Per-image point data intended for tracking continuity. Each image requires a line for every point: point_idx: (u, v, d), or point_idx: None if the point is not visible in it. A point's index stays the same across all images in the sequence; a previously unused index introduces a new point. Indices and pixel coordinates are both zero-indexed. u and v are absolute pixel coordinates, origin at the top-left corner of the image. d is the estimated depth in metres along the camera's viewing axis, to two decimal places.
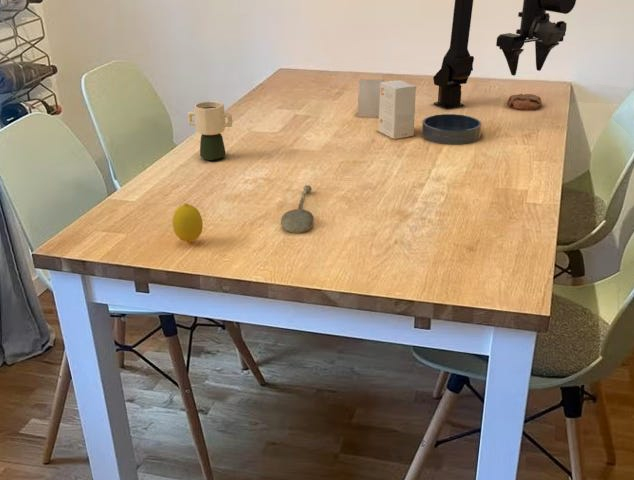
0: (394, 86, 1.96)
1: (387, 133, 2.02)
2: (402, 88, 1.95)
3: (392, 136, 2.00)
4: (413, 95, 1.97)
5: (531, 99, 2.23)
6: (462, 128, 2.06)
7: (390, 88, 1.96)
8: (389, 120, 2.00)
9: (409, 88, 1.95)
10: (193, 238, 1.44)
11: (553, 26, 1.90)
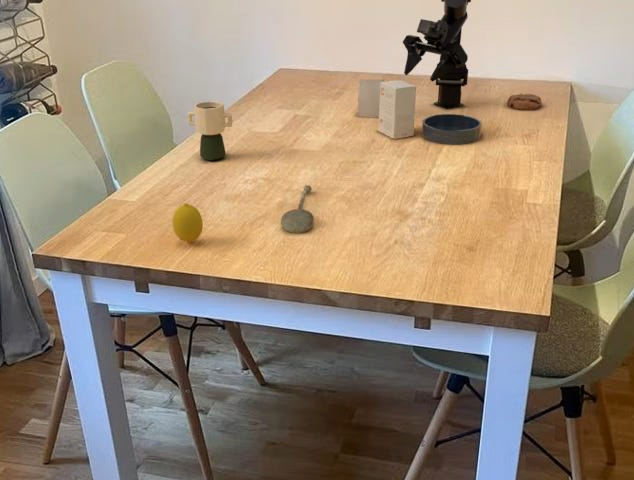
0: (394, 86, 1.96)
1: (387, 133, 2.02)
2: (402, 88, 1.95)
3: (392, 136, 2.00)
4: (413, 95, 1.97)
5: (531, 99, 2.23)
6: (462, 128, 2.06)
7: (390, 88, 1.96)
8: (389, 120, 2.00)
9: (409, 88, 1.95)
10: (193, 238, 1.44)
11: None
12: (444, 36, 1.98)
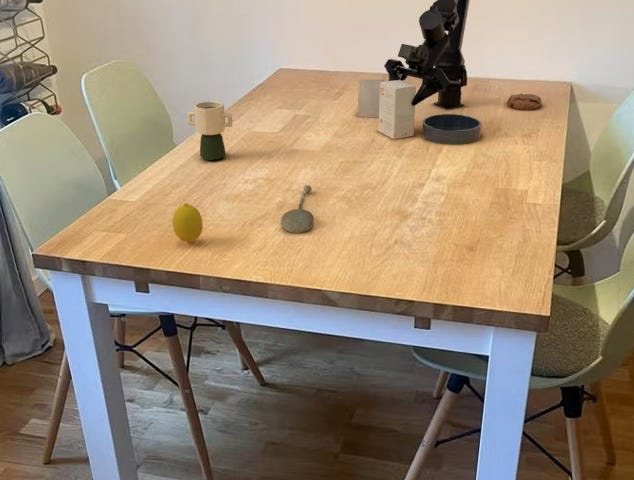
0: (394, 86, 1.96)
1: (387, 133, 2.02)
2: (402, 88, 1.95)
3: (392, 136, 2.00)
4: (413, 95, 1.97)
5: (531, 99, 2.23)
6: (462, 128, 2.06)
7: (390, 88, 1.96)
8: (389, 120, 2.00)
9: (408, 88, 1.95)
10: (193, 238, 1.44)
11: None
12: (425, 61, 1.97)
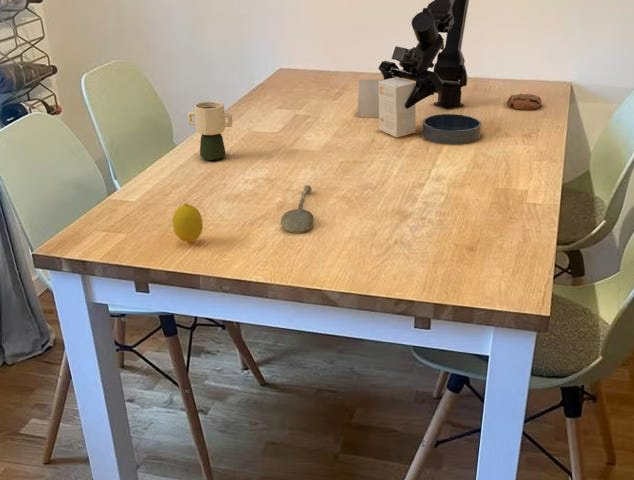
0: (394, 85, 1.95)
1: (389, 132, 2.02)
2: (402, 86, 1.94)
3: (395, 135, 2.00)
4: None
5: (531, 99, 2.23)
6: (462, 128, 2.06)
7: (390, 87, 1.95)
8: (391, 118, 1.99)
9: (408, 86, 1.95)
10: (193, 238, 1.44)
11: None
12: (419, 63, 1.96)
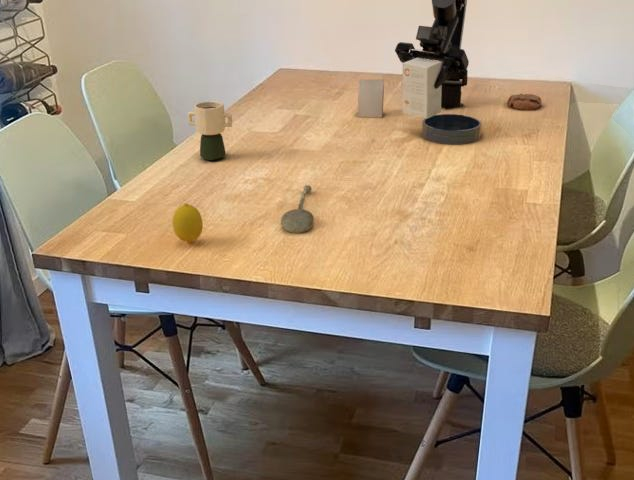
0: (422, 65, 1.91)
1: (417, 114, 1.98)
2: (432, 66, 1.90)
3: (425, 116, 1.96)
4: None
5: (531, 99, 2.23)
6: (462, 128, 2.06)
7: (419, 68, 1.91)
8: (420, 100, 1.95)
9: (437, 65, 1.92)
10: (193, 238, 1.44)
11: None
12: (443, 42, 1.93)
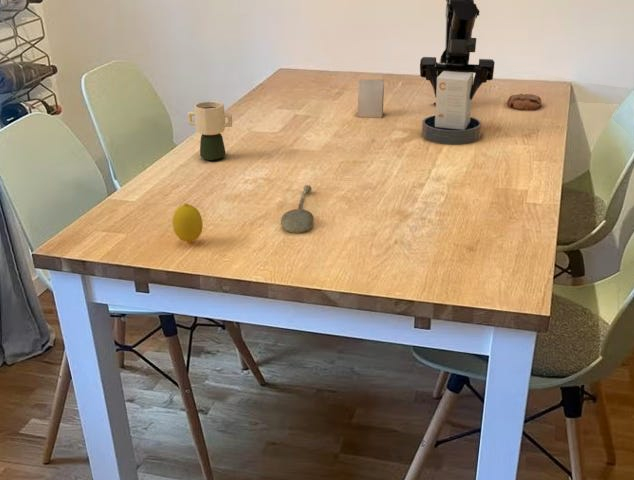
0: (460, 78, 1.92)
1: (453, 126, 1.99)
2: (469, 78, 1.93)
3: (463, 128, 1.98)
4: (472, 82, 1.96)
5: (531, 99, 2.23)
6: None
7: (458, 81, 1.92)
8: (457, 112, 1.96)
9: (471, 77, 1.94)
10: (193, 238, 1.44)
11: None
12: (469, 53, 1.96)
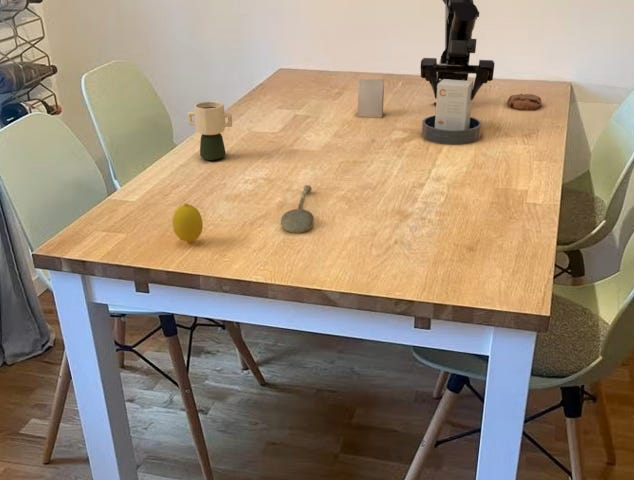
0: (460, 84, 1.94)
1: None
2: (469, 85, 1.94)
3: None
4: None
5: (531, 99, 2.23)
6: None
7: (459, 87, 1.93)
8: (457, 119, 1.97)
9: (471, 84, 1.96)
10: (193, 238, 1.44)
11: None
12: (469, 54, 1.98)
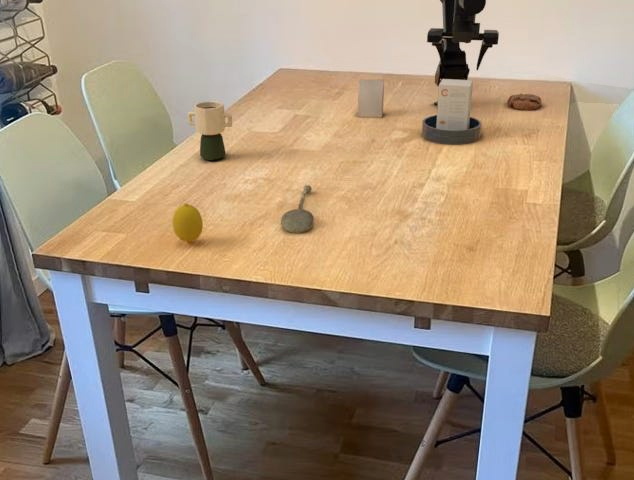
0: (462, 84, 1.94)
1: None
2: (471, 84, 1.95)
3: None
4: None
5: (531, 99, 2.23)
6: None
7: (461, 87, 1.94)
8: (459, 118, 1.98)
9: (472, 83, 1.97)
10: (193, 238, 1.44)
11: (467, 26, 2.00)
12: None
